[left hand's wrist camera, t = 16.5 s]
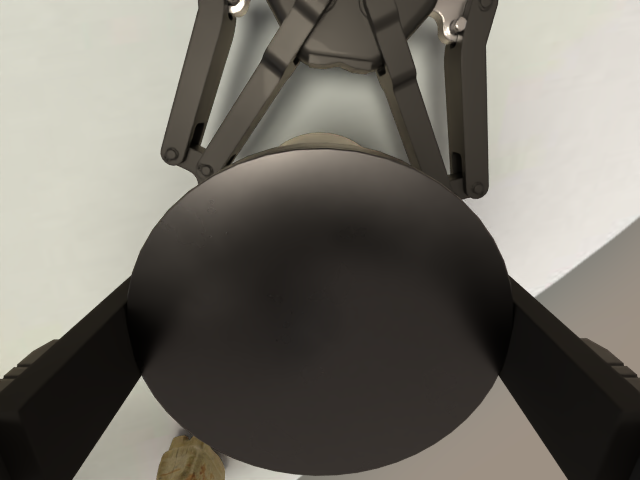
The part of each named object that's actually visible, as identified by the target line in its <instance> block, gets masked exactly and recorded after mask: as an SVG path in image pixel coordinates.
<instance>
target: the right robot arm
mask: <svg viewBox="0 0 640 480" xmlns="http://www.w3.org/2000/svg"><path fill="white" fill-rule="evenodd" d="M250 1H251V0H198V12H197V16H196V20H195V23H194V27H193V31H192V35H191V38H190V42H189V46H188V50H187V53H186V57H185V61H184V65H183V68H182V72H181V76H180V80H179V83H178V87H177V91H176V95H175V98H174V102H173V106H172V110H171V113H170V117H169V121H168V125H167V128H166V132H165V136H164V140H163V143H162V147H161V157H162V159H163V160H164V161H165V162H166V163H167V164H169V165H173V166H175V165H177V166H180V167H182V168H184V169H186V170H188V171H190V172H192V173H193V174H194V175H195V177H196V178H197V181H198V185H199V184H200V183H202V182H203V181H205V180H206V179H208V178H209V177H211V176H212V175H214V174H215V173H217V172H218V171H220V170H222V169H223V168H225V167H226V166H229V165H231V164H232V162H233V161H234V159H235V158H236V156H237V155H238V153H239V152H240V150H241V149H242V147H243V146H244V144H245V143H246V141H247V140H248V138H249V137H250V135H251V134H252V132H253V131H254V129H255V127H256V126H257V124H258V123H259V121H260V120H261V118H262V117H263V115H264V114H265V112H266V111H267V109H268V108H269V106H270V105H271V103H272V102H273V100H274V99H275V97H276V96H277V94H278V93H279V91H280V90H281V88H282V87H283V85H284V84H285V82H286V81H287V80H288V78H289V77H290V76H291V75H292V73H293V72H294V70H295V69H296V67H297V66H298V64H299V63H300V61H302V62H303V63H305V64H306V65H309V67H310V68H318V69H328V68H333V67H340V68H343V69H345V70H347V71H349V72H352V73H358V74H367V73H370V72H373V71H375V72H376V74H377V77H378V80H379V83H380V85H381V87H382V89H383V91H384V92H385V95H386V97H387V100H388V103H389V106H390V109H391V111H392V114H393V117H394V120H395V122H396V125H397V128H398V131H399V133H400V136H401V139H402V142H403V145H404V147H405V150H406V153H407V156H408V158H409V161H410V164H411V166H413V167H415V168H416V169H418V170H420V171H422V172H424V173H425V174H427V175H428V176H430V177H432V178H433V179H435V180H436V181H438V182H439V183H441V184H442V185H443V186H445V187H446V188H447V189H448V190H450V191H451V192H452V193H454V194H455V195H456V196H458V197H459V198H460V199H461V200H462V199H466V198H470V197H471V198H473V199H479V198H481V197H483V196H484V195H485V194H486V193H487V191H488V187H489V176H488V126H487V76H486V43H487V40H488V36H489V33H490V30H491V26H492V23H493V19H494V16H495V12H496V9H497V6H498V0H266V1H267V3H268V5H269V7H270V8H271V10H272V12H273V14H274V16H275V18H276V20H277V22H278V24H279V25H280V28H279V29H278V31H277V33H276V34H275V36H274V37H273V39H272V41H271V42H270V44H269V45H268V47H267V49H266V50H265V52H264V55H263V58H262V60H261V62H260V64H259V65H258V67H257V69H256V70H255V72H254V73H253V75H252V77H251V78H250V80H249V81H248V83H247V84H246V86H245V88H244V89H243V91H242V92H241V94H240V96H239V97H238V99H237V100H236V102H235V104H234V105H233V107H232V108H231V110H230V112H229V113H228V115H227V116H226V118H225V120H224V121H223V123H222V124H221V126H220V128H219V129H218V131H217V132H216V134H215V135H214V137H213V139H212V140H211V142H210V143H209V145H208V147H207V148H203V147H201V146H200V145H201V142H202V139H203V136H204V132H205V129H206V126H207V122H208V119H209V116H210V113H211V109H212V106H213V103H214V100H215V96H216V93H217V90H218V86H219V83H220V80H221V77H222V73H223V70H224V67H225V63H226V60H227V57H228V54H229V50H230V47H231V44H232V40H233V36H234V32H235V25H236V17H242V16H244V15H245V14H246V13H247V11H248V8H249V4H250ZM428 16H430V17H432V18H433V19H435V21H436V23H437V26H438V38H439V40H440V41H441V42H442V43H444V44H446V47H445V55H444V72H445V89H446V106H447V123H448V140H449V158H450V175H447V172H446V169H445V166H444V163H443V160H442V157H441V154H440V150H439V147H438V144H437V141H436V138H435V135H434V132H433V129H432V126H431V123H430V120H429V117H428V114H427V111H426V108H425V105H424V102H423V99H422V95H421V92H420V89H419V86H418V83H417V79H416V68H415V65H414V62H413V59H412V56H411V53H410V50H409V46H408V43H407V40H408V39H409V38H410V37H411V35H412V34H413V33H414V32H415V31H416V30H417V29H418V27H419V26H420V25H421V24H422V23H423V22H424V21H425V20H426V18H427V17H428Z"/></svg>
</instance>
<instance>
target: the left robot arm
mask: <svg viewBox="0 0 640 480" xmlns="http://www.w3.org/2000/svg"><path fill="white" fill-rule="evenodd" d="M508 276H509V275H508ZM509 279H510V282H511V289H512V297H513V305H514V307H513V329H512V334H511V339H510V343H509V348H508V352H507V355H506V358H505V361H504V364H503V367H502V369H501V371H500V373H499V377H500V378H501V380H502V381H503V383H504V384H505V386H506V387H507V389H508V390H509V392H510V393H511V395H512V396H513V398H514V399H515V401H516V402H517V404H518V405H519V407H520V408H521V410H522V411H523V413H524V414H525V416H526V417H527V419H528V420H529V422H530V423H531V425H532V426H533V428H534V429H535V431H536V432H537V434H538V435H539V437H540V438H541V440H542V441H543V443H544V444H545V446H546V447H547V449H548V450H549V452H550V453H551V455H552V456H553V458H554V459H555V461H556V462H557V464H558V465H559V467H560V468H561V470H562V471H563V473H564V474H565V476H566V477H567V479H568V480H640V378H638V377H637V374H635V373H634V372H633V371H632V370H631V369H630V368H628V367H627V366H624V364H623V363H622V362H621V361H620V360H619V359H618V358H617V357H615V356H614V355H613V354H612V353H611V352H609V351H608V350H607V349H605V348H603V347H601V346H600V345H598V344H596V343H594V342H592V341H591V340H589V339H587V338H579V337H578V336H577V335H575V334H574V333H573V332H572V331H571V330H570V329H569V328H568V327H566V326H565V325H564V324H563V323H562V322H561V321H560V320H559V319H557V318H556V317H555V316H554V315H553V314H552V313H551V312H549V311H548V310H547V309H546V308H545V307H544V306H543V305H542V304H541V303H539V302H538V301H537V300H536V299H535V298H534V297H533V296H532V295H530V294H529V293H528V292H527V291H526V290H525V289H524V288H523V287H521V286H520V285H519V284H518V283H517V282H516V281H515V280H514V279H512V278H511V277H510V276H509ZM130 280H131V276H130V277H129V278H128V279H127V280H125V281H124V282H123V283H122V284H121V285H120V286H119V287H118V288H117V289H115V290H114V291H113V292H112V293H111V294H110V295H109V296H108V297H106V298H105V299H104V300H103V301H102V302H101V303H100V304H99V305H97V306H96V307H95V308H94V309H93V310H92V311H91V312H90V313H88V314H87V315H86V316H85V317H84V318H83V319H82V320H81V321H79V322H78V323H77V324H76V325H75V326H74V327H73V328H72V329H70V330H69V331H68V332H67V333H66V334H65V335H64V336H63V337H61V338H60V339H54V340H52V341H50V342H48V343H47V344H45V345H43V346H41V347H40V348H38V349H36V350H34V351H33V352H31V353H30V354H29V355H28V356H27V357H26V358H24V359H23V360H22V361H21V362H20V363H19V364H17V367H14V368H13V369H11V370H10V371H9V372H8V373H7V374H6V375H4V378H3V379H0V480H72V479H73V478H74V476H75V475H76V473H77V472H78V470H79V469H80V467H81V466H82V464H83V463H84V461H85V460H86V458H87V457H88V455H89V454H90V452H91V451H92V449H93V448H94V446H95V445H96V443H97V442H98V440H99V439H100V437H101V436H102V434H103V433H104V431H105V430H106V428H107V427H108V425H109V424H110V422H111V421H112V419H113V418H114V416H115V415H116V413H117V412H118V410H119V409H120V407H121V406H122V404H123V403H124V401H125V400H126V398H127V397H128V395H129V394H130V392H131V390H132V389H133V387H134V386H135V384H136V383H137V381H138V380H139V378H140V377H141V372H140V370H139V368H138V366H137V363H136V361H135V358H134V354H133V350H132V346H131V342H130V338H129V333H128V325H127V295H128V290H129V285H130Z"/></svg>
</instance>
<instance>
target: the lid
mask: <svg viewBox="0 0 640 480" xmlns="http://www.w3.org/2000/svg"><path fill="white" fill-rule="evenodd" d="M513 307H514V305H513V297H512V289H511V282H510V279H509V276H508V272H507V269H506V265H505V262H504V259H503V257H502V255H501V253H500V251H499V249H498V247H497V245H496V243H495V241H494V239H493V237H492V236H491V234H490V233H489V232H488V230H487V229H486V227H485V226H484V224H483V223H482V221H481V220H480V219H479V217H478V216H477V215H476V214H475V213H474V212H473V211H472V210H471V209H470V208H469V207H468V206H467V205H466V204H465V203H464V202H463V201H462V200H461V199H460V198H459V197H458V196H456V195H455V194H454V193H452V192H451V191H450V190H448V189H447V188H446V187H445V186H443V185H442V184H441V183H439V182H438V181H436V180H435V179H433V178H432V177H430V176H428V175H427V174H425V173H424V172H422V171H420V170H418V169H416V168H415V167H413V166H411V165H409V164H408V163H406V162H404V161H402V160H400V159H397V158H395V157H392V156H390V155H387V154H384V153H382V152H379V151H376V150H372V149H368V148H363V147H359V146H355V145H349V144H338V143H328V142H320V143H298V144H293V145H287V146H281V147H275V148H271V149H268V150H265V151H262V152H259V153H256V154H253V155H250V156H247V157H245V158H243V159H241V160H239V161H237V162H235V163H233V164H231V165H229V166H226V167H225V168H223V169H222V170H220V171H218V172H217V173H215V174H214V175H212V176H211V177H209V178H208V179H206V180H205V181H203V182H202V183H200V184H199V185H197V186H196V187H194V188H193V189H191V190H190V191H188V192H187V193H186V194H185V195H184V196H183V197H182V198H181V199H180V200H178V201H177V202H176V203H175V204H174V205H173V206H172V207H171V208H170V209H169V210H168V211H167V212H166V213H165V215H164V216H163V217H162V218H161V220H160V221H159V222H158V223H157V225H156V226H155V227H154V228H153V230H152V231H151V233H150V235H149V237H148V238H147V240H146V242H145V244H144V245H143V247H142V249H141V251H140V253H139V256H138V258H137V261H136V264H135V266H134V269H133V272H132V275H131V280H130V285H129V290H128V295H127V325H128V333H129V338H130V342H131V346H132V350H133V354H134V358H135V361H136V363H137V366H138V368H139V370H140V372H141V375H142V377H143V379H144V381H145V382H146V384H147V386H148V387H149V389H150V390H151V392H152V394H153V395H154V397H155V398H156V399H157V400H158V402H159V403H160V404H161V405H162V407H163V408H164V409H165V410H166V412H167V413H168V414H169V415H170V416H171V417H172V418H173V419H174V420H176V421H177V422H178V423H179V424H180V425H181V426H182V427H183V428H184V429H186V430H187V431H188V432H189V433H191V434H192V435H193V436H195V437H196V438H197V439H199V440H200V441H202V442H204V443H205V444H207V445H208V446H210V447H212V448H213V449H215V450H217V451H219V452H221V453H223V454H225V455H227V456H229V457H232V458H234V459H236V460H239V461H242V462H244V463H247V464H250V465H253V466H256V467H260V468H264V469H268V470H272V471H277V472H283V473H289V474H297V475H312V476H324V475H342V474H351V473H358V472H363V471H368V470H372V469H377V468H380V467H384V466H387V465H390V464H393V463H396V462H399V461H401V460H404V459H406V458H408V457H411V456H413V455H415V454H417V453H419V452H421V451H423V450H425V449H426V448H428V447H430V446H432V445H434V444H435V443H437V442H438V441H440V440H441V439H442V438H444V437H445V436H447V435H448V434H450V433H451V432H452V431H454V430H455V429H456V428H457V427H458V426H459V425H460V424H462V423H463V422H464V421H465V420H466V419H467V418H468V417H469V416H470V415H471V414H472V413H473V411H474V410H475V409H476V408H477V407H478V406H479V405H480V404H481V402H482V401H483V399H484V398H485V397H486V395H487V394H488V392H489V391H490V389H491V388H492V387H493V385H494V383H495V381H496V379H497V377H498V375H499V373H500V371H501V369H502V367H503V364H504V361H505V358H506V355H507V352H508V348H509V343H510V339H511V334H512V329H513Z"/></svg>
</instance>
